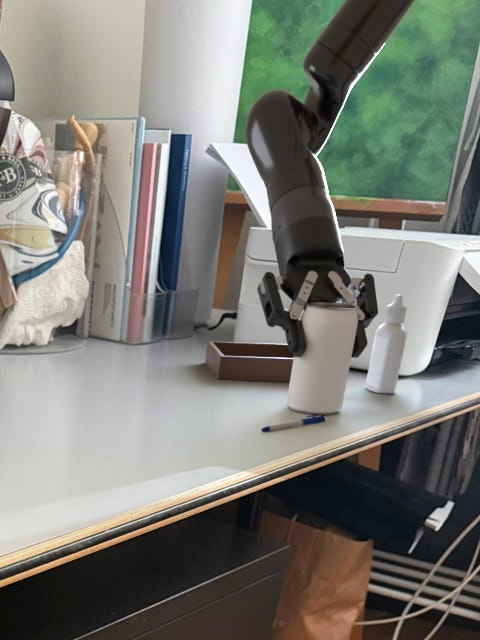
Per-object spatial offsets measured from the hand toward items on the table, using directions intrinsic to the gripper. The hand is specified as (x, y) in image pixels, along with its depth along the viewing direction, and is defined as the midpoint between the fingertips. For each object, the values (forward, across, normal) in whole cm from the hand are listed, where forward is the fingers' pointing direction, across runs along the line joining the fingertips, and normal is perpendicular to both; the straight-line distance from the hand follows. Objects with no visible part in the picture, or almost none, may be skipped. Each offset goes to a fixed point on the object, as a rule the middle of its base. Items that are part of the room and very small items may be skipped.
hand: (329, 353), depth 109 cm
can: (+4, 0, +6) cm, 7 cm away
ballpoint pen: (+10, -6, +1) cm, 11 cm away
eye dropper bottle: (-4, +14, +14) cm, 20 cm away
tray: (-12, +2, +22) cm, 25 cm away
